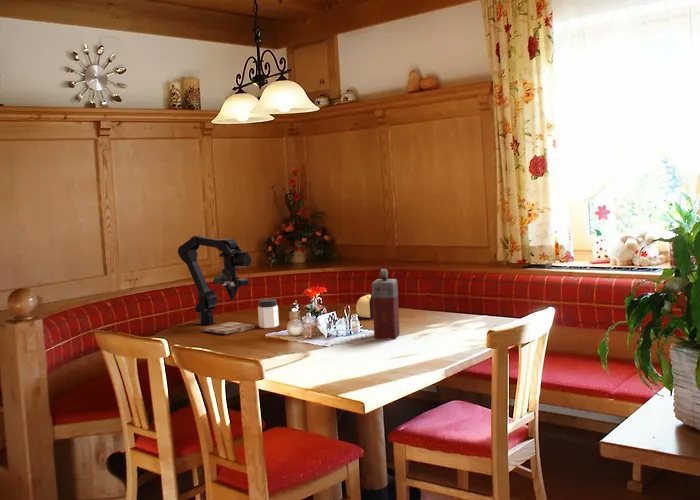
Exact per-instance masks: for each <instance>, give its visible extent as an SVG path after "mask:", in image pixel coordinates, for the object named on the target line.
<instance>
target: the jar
mask: <svg viewBox="0 0 700 500" xmlns="http://www.w3.org/2000/svg"><path fill="white" fill-rule="evenodd" d="M277 303H278V302H277V299H276V298H264V299H260V300H258V306H257V313H258V327H259V328H262V329H273V328H276V327H278V326H279V325H280V321H279V305H277Z"/></svg>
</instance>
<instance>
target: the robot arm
mask: <svg viewBox="0 0 700 500" xmlns="http://www.w3.org/2000/svg"><path fill="white" fill-rule="evenodd" d="M201 246H205V247H210V248H214V249H216V250H218V251H219V252H220V254H219V255H218V257H219V258H222V261H223V264H222V265H223V268H222V269H221V273H219V274H218V275H216V276H214V277H213V281H212V282H213V285H219V286H221V287H222V288H224V289H225V290H226V292H227V294H228V296H229V297H228V298H229V299H230V301H234V300H235V297H236V295H237V292H238V290H239V288H240V287H244V286H249V285H250V281H249V279H248V278H243V277H242V278H240V277H239V276H238V274H237V271H239V268H240V267H241V268H243V267H244V268H249V267H250V265H251V264H252V257H251V255H249V253H248V251H242V249H241V248H240V246H239V245H238V242H237V241H236V239H235V238H220V239H219V238H214V237H209V236H202V235H200V234H199V235H193V236H192V237H191V238H189V240H187V241H186V242H184V243H183V244H182V245H180V246H178V249H177V254H178V256H179V258H180V260H182V262H184V263H185V264H186V265H187V268H188V271H189V273H190V275H191V278H192V280H193V282H194V283H193V284H194V285H195V288H196V290H197V301H198V303H197V304H196V306H195V307H194V310H195V312H196V313H198V319H199V320H198V321H199V322H197V323H196V324H197V325H201V326H207V325H212V324H216V323H217V322H216V321H214V314H213V310H216V307H217V303H218V296H217V294H216V291H215V290H214V289H210V288H209V286H208V284H207V282H206V280H205V277H204V275H203V272H202V269H201V267H200V265H199V262H198V250H199V248H200V247H201Z"/></svg>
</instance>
